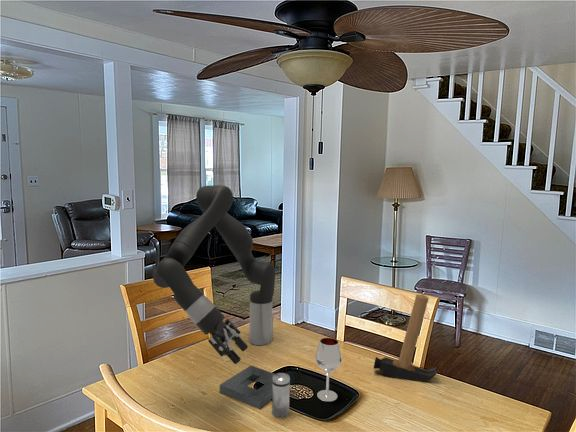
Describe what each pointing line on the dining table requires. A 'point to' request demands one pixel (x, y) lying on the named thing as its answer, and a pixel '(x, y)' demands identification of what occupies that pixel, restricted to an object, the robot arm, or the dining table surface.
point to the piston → (280, 395)
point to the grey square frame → (246, 394)
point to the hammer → (408, 349)
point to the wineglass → (328, 364)
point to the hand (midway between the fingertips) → (242, 355)
